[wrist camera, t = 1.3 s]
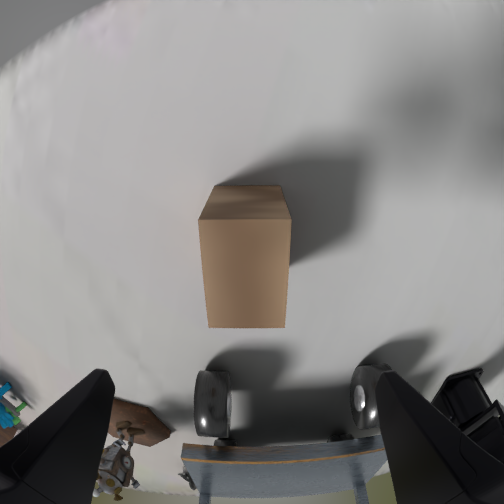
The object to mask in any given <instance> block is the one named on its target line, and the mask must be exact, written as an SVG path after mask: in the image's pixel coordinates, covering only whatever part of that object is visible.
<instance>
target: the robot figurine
mask: <svg viewBox="0 0 504 504" xmlns="http://www.w3.org/2000/svg"><path fill="white" fill-rule="evenodd" d="M170 432H171V431H170V430H169V429H168V428H167V427H166V426H165V425H164V424H163V423H162V422H161V421H160V420H159V419H158V418H157V417H156V416H155V415H154V414H153V413H152V412H151V411H150V410H149V408H147V407H143V406H139V405H135V404H132V403H128V402H124V401H121V400H117V399H114V400H113V406H112V412H111V418H110V424H109V429H108V433H109V434H110V435H111V436H113V437H116V438H119V439H118V440H116V441H115V442H113V444H112V445H110V446H108V447H107V448H105V449H103V453H102V457H101V461H100V465H99V469H98V473H97V478H96V480H98V485H99V488H98V489H95V488H94V491H93V496H95V497H98V496H99V495H100V493H101V492H103V491H104V492H105V493H107V494H115V497H114V500H117V501H118V500H121V499H123V497H121V496H119V495H118V494H119V493H120V492H121V491H122V486H124V487H128V486H129V483H130V480H132V484H131V485H133V486H134V487H133V488H135V489H136V488H137V487H138V486H139V485H140V484H139V483H138V481H137V480H135V479H134V478H133V477H132V476H133V469H134V460H133V458H132V457H131V456H130V449H131V446H133V443H137V444H141V445H145V446H149V447H151V446H153V445H155V444H157V443H159V442H161V441H163V440H165V439H167V438H169V437H170ZM122 440H126V441H128V445H129V446H128V449H127V450H125V449H124V448H122V446H121V445H123V444H124V445H126V444H125V443H124V442H123V441H122Z"/></svg>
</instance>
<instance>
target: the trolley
mask: <svg viewBox="0 0 504 504" xmlns="http://www.w3.org/2000/svg"><path fill="white" fill-rule="evenodd" d="M391 370H392V369H391V367H390V366H389V365H388V364H385V363H382V364H374V365H366V366H358V367H357V368H356V369H355V371H354V373H353V376H352V380H351V388H350V402H351V410H352V415H353V419H354V422H355V424H356V426H357V427H358V428H359V429H362V430H363V429H369V428H374V427H380V424H379V417H378V410H377V403H376V397H375V387H376V384H377V382H378V380H379V377H380V375H381V373H382V372H384V371H391ZM231 410H232V397H231V385H230V374H229V371H199V373H198V375H197V379H196V384H195V393H194V421H195V428H196V432H197V435H198V436H204V437H222V438H228V437H229V431H230V419H231ZM181 459H182V461H183V463H184V465H185V467H186V469H187V471H188V472H189V474H190V476H191V478H192V480H193V482H194V483H195V485H196V487H197V489H198V491H199V492H200V498H199V504H211V496H212V497H230V498H275V497H276V498H277V497H294V496H306V495H315V494H324V493H331V492H338V491H345V490H350V489H354V494H355V500H356V504H369V501H368V496H367V491H366V486H365V484H366V483H367V482H368V481H369V480H370V479H371V478H372V477H373V476H374V474H375V473H376V472H377V471H378V470H379V469H380V468H381V467H382V465H383V464H384V463H385V462H386V461H387V455H386V451H385V447H384V443H383V439H382V435H376V436H370V437H364V438H358V439H354V437H353V436H352V435H351V434H344V435H337V436H330V437H329V438H328V441H327V443H320V444H309V445H295V446H273V447H237V444H236V440H215V442H214V446H210V445H196V444H185V443H183V447H182V454H181Z"/></svg>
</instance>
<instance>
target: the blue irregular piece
mask: <svg viewBox="0 0 504 504" xmlns="http://www.w3.org/2000/svg"><path fill="white" fill-rule="evenodd" d="M11 388H12V386H11V385H10V384H9V382H7V383H6V384H5V385H4V386H2V387H1V388H0V424H1V426H2V428H3V429H5V428H6V427H8V426H9V427H10V428H11V427H12V426H13V425H14V424H15V425H17V424H18V423H19V422H20V421H21V420H20V418H19V417H18V416H19V415H20V412H19V411H21V410H22V409H23V408H24V407H25V406H27V404H26V403H25V402H23V403H22V404H20V405H19V406H18V407H17V408H16V407H15V406H14V405H12V404H11V403H10V402H9V401H8V400H7V399H5V398H4V397H3V396H2V395H4V394H5V393H6V392H7V391H8V390H9V389H11Z"/></svg>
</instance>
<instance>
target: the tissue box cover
mask: <svg viewBox="0 0 504 504" xmlns="http://www.w3.org/2000/svg"><path fill="white" fill-rule="evenodd" d="M16 431H17V429H16V428H14V427H13V426H12V427H11V428H10V427H9V426H8V427H6V428H5V429H3V428H2V426H1V424H0V447H1V446H3V445H4V444H5V443H7V442H8V441H10V440H11V439H12V438H13V437H14V435H15V433H16Z"/></svg>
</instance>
